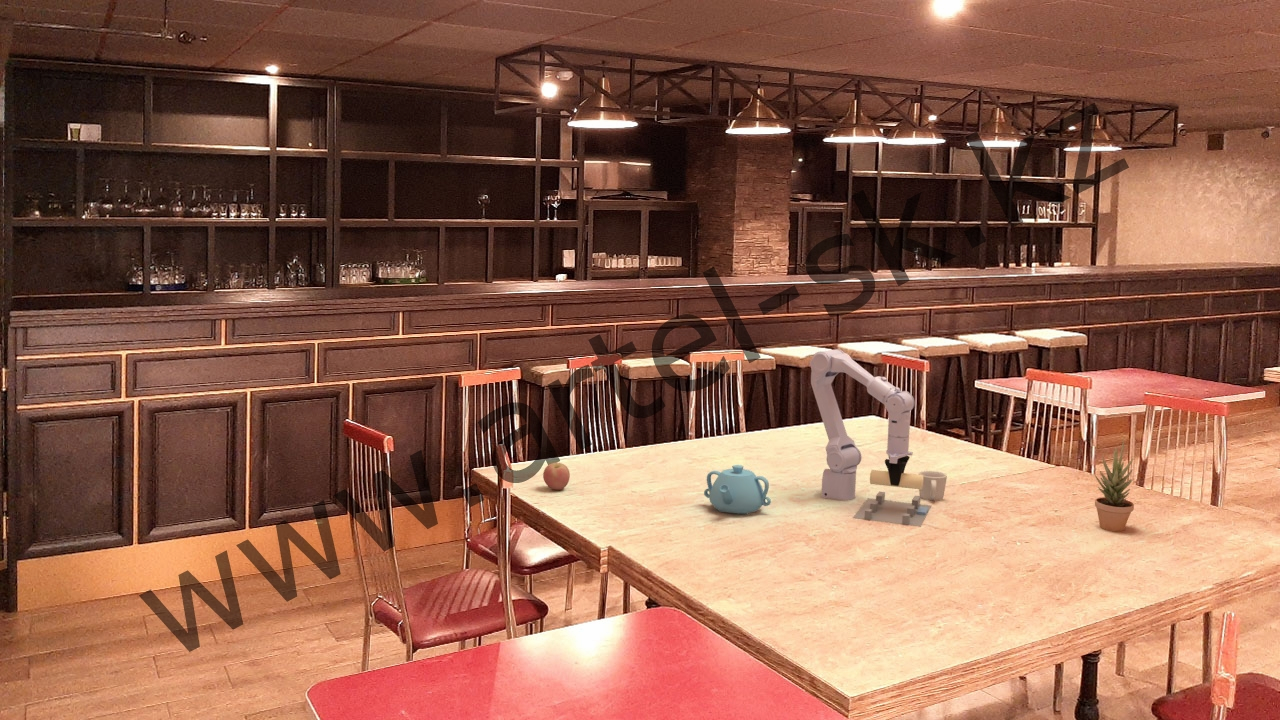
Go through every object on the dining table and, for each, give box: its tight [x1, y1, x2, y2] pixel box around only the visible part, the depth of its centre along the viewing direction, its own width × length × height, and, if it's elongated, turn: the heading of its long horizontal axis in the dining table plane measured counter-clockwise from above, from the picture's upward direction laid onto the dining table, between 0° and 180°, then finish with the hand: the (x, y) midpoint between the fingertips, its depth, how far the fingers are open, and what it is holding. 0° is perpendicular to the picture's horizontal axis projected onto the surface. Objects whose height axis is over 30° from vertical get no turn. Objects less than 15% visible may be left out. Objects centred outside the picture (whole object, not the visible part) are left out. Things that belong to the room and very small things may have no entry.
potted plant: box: [1094, 438, 1135, 532], centre depth 275 cm, size 10×10×25 cm
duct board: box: [852, 491, 932, 528], centre depth 285 cm, size 18×22×3 cm
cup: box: [917, 470, 948, 502], centre depth 299 cm, size 11×8×8 cm
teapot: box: [703, 464, 772, 516], centre depth 285 cm, size 20×20×13 cm
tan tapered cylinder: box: [869, 469, 923, 490], centre depth 287 cm, size 14×4×4 cm, turn 67°
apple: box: [542, 462, 571, 491], centre depth 306 cm, size 8×8×8 cm
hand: (896, 483), depth 287 cm, fingers closed on tan tapered cylinder, 4 cm apart
